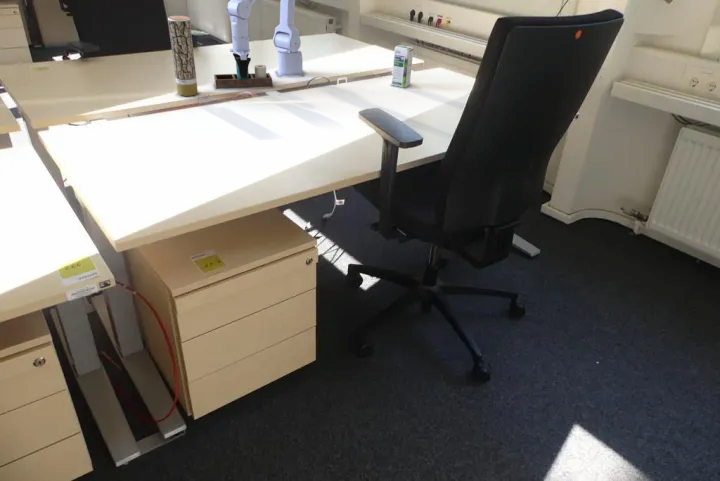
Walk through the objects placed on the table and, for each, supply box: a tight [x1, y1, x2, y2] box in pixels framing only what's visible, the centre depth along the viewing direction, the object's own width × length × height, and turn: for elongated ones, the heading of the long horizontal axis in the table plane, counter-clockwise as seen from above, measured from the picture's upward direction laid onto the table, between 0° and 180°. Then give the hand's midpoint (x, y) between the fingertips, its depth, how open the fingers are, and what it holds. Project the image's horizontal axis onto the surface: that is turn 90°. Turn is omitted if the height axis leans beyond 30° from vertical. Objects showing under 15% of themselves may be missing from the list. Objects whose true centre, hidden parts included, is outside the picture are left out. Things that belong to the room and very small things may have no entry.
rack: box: [213, 72, 273, 90], centre depth 198 cm, size 20×7×4 cm, turn 107°
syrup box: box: [390, 44, 414, 88], centre depth 206 cm, size 6×6×14 cm
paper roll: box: [235, 61, 250, 79], centre depth 196 cm, size 4×4×6 cm
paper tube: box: [167, 15, 199, 97], centre depth 181 cm, size 7×7×25 cm
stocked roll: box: [254, 64, 267, 78], centre depth 198 cm, size 4×4×6 cm
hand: (242, 75), depth 196 cm, fingers closed on paper roll, 4 cm apart
